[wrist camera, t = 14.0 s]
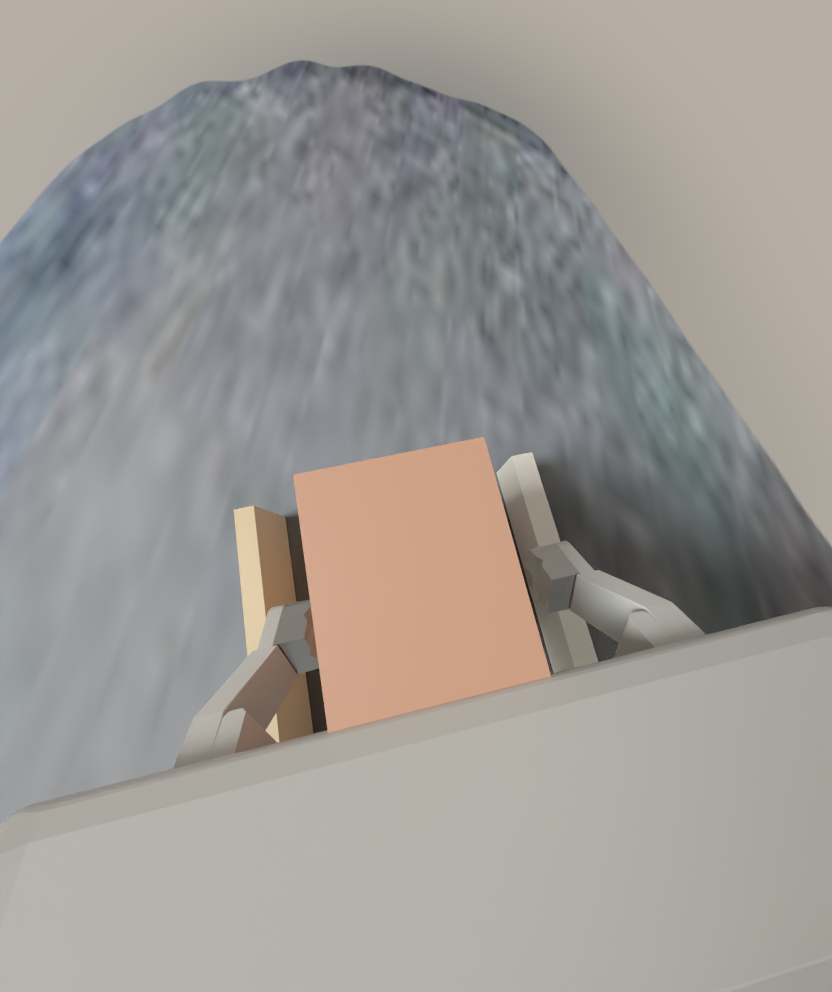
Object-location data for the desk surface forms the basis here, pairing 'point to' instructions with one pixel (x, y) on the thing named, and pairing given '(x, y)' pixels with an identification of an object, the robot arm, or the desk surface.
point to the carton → (414, 583)
